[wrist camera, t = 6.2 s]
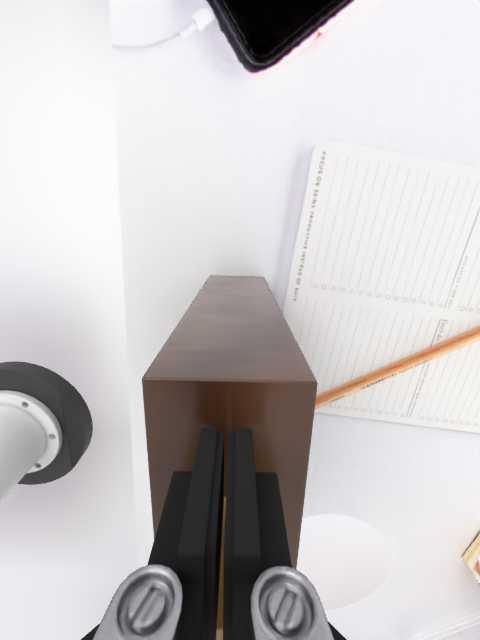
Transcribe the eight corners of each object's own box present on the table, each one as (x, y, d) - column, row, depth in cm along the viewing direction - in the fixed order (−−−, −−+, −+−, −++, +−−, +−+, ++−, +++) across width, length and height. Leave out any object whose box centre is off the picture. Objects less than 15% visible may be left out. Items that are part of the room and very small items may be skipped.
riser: (210, 387, 37) (161, 643, 14) (209, 275, 33) (141, 377, 10) (258, 388, 37) (287, 645, 14) (263, 276, 33) (318, 382, 10)
